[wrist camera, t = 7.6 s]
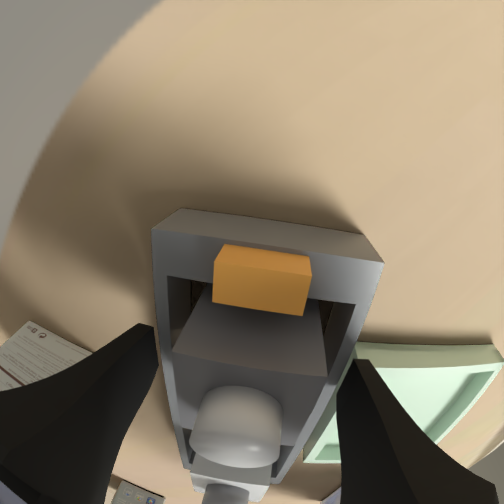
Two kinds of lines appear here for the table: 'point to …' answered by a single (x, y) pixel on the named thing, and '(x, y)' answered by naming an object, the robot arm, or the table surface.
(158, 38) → the table surface
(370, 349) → the tray
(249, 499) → the twin plug
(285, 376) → the plug
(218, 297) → the power strip
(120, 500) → the hard drive box
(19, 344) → the supplement box
